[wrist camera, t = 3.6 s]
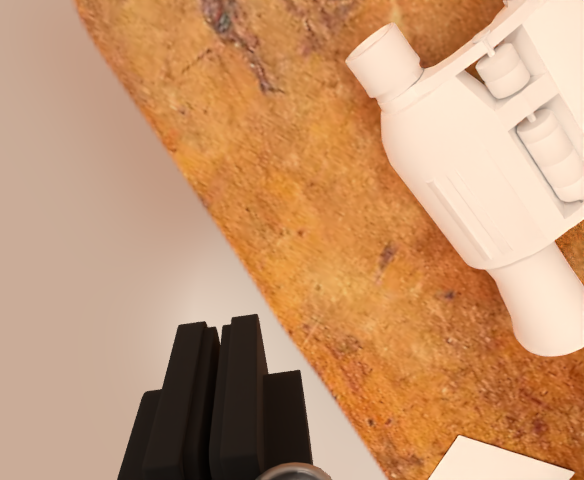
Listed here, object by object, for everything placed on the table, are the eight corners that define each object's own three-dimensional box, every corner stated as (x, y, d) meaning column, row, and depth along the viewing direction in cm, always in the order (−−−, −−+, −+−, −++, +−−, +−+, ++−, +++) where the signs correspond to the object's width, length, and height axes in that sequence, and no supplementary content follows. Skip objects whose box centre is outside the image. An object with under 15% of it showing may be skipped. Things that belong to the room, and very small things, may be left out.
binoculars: (505, 324, 28) (549, 381, 24) (314, 76, 23) (327, 92, 18) (693, 200, 26) (779, 238, 22) (531, -106, 20) (603, -137, 16)
